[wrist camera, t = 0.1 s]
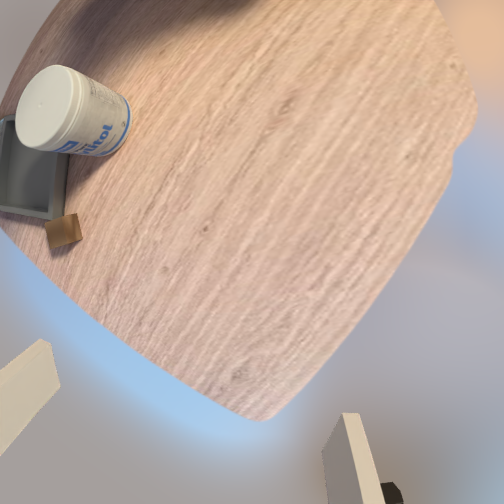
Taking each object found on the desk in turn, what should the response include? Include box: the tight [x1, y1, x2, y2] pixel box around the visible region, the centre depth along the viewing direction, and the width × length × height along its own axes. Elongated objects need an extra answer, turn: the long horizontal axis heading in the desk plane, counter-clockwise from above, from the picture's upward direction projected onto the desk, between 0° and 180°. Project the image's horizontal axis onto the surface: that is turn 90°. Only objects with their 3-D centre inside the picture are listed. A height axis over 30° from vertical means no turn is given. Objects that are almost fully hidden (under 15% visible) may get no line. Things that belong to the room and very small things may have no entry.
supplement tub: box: [15, 65, 133, 157], centre depth 27 cm, size 10×10×15 cm
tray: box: [0, 114, 70, 220], centre depth 35 cm, size 17×17×3 cm
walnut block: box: [44, 213, 83, 249], centre depth 37 cm, size 4×4×4 cm
